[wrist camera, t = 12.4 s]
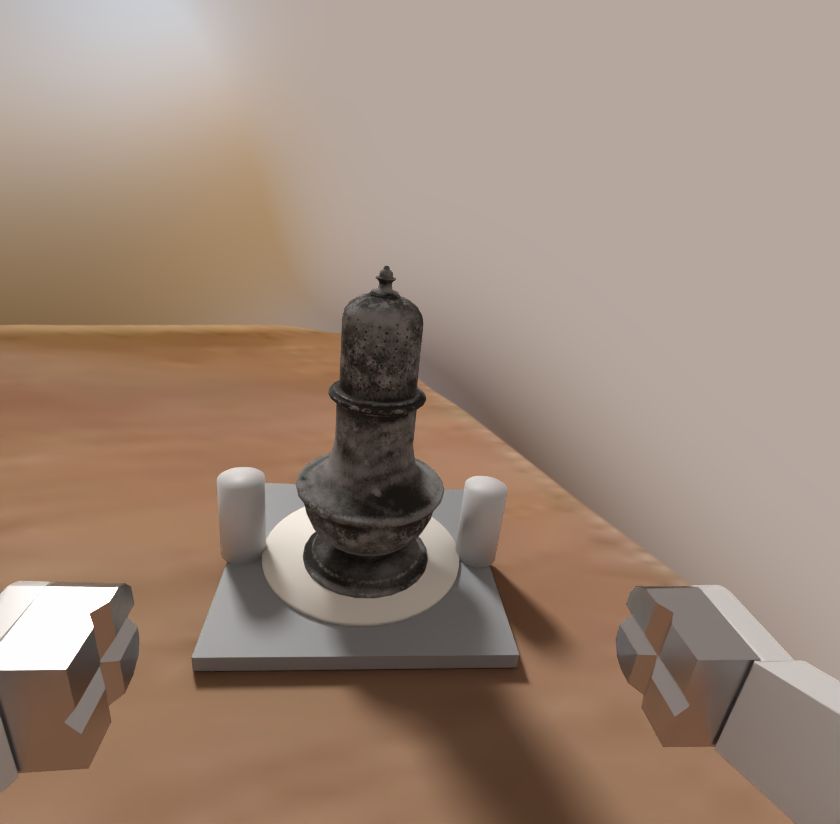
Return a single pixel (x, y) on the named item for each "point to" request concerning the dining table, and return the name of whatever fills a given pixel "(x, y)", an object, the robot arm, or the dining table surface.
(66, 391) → the dining table surface
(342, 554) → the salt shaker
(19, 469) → the dining table surface
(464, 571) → the pin socket board
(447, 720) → the dining table surface
